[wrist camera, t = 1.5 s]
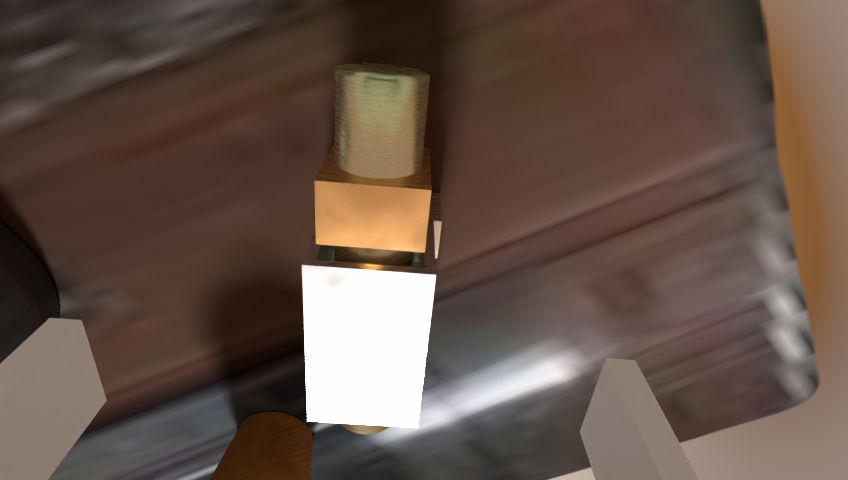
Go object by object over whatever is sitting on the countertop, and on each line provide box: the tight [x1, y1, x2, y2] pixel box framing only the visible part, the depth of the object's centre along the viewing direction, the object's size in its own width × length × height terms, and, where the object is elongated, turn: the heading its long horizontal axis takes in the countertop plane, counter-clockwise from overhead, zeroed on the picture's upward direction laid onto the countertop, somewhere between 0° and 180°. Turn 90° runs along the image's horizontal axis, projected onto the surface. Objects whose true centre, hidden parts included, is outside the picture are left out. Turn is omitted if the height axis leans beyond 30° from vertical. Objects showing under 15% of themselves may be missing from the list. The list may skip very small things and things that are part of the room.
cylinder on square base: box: [315, 63, 431, 434], centre depth 26 cm, size 5×20×6 cm, turn 175°
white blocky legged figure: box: [302, 192, 442, 428], centre depth 29 cm, size 7×10×10 cm
